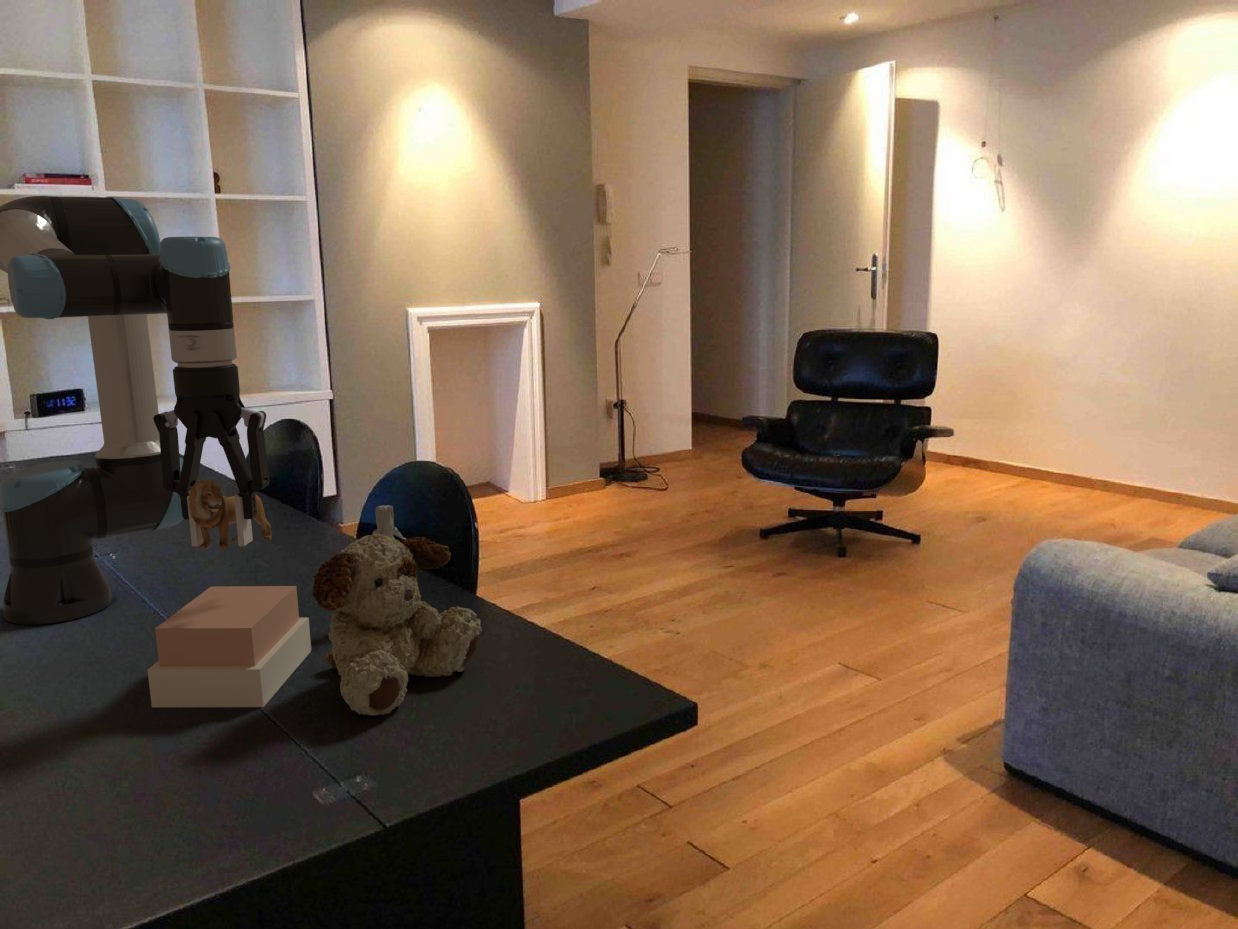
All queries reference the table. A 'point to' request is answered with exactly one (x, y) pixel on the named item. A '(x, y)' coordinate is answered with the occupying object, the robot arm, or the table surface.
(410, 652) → the dog
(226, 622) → the stacked block pedestal
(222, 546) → the lion figurine
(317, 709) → the table surface
